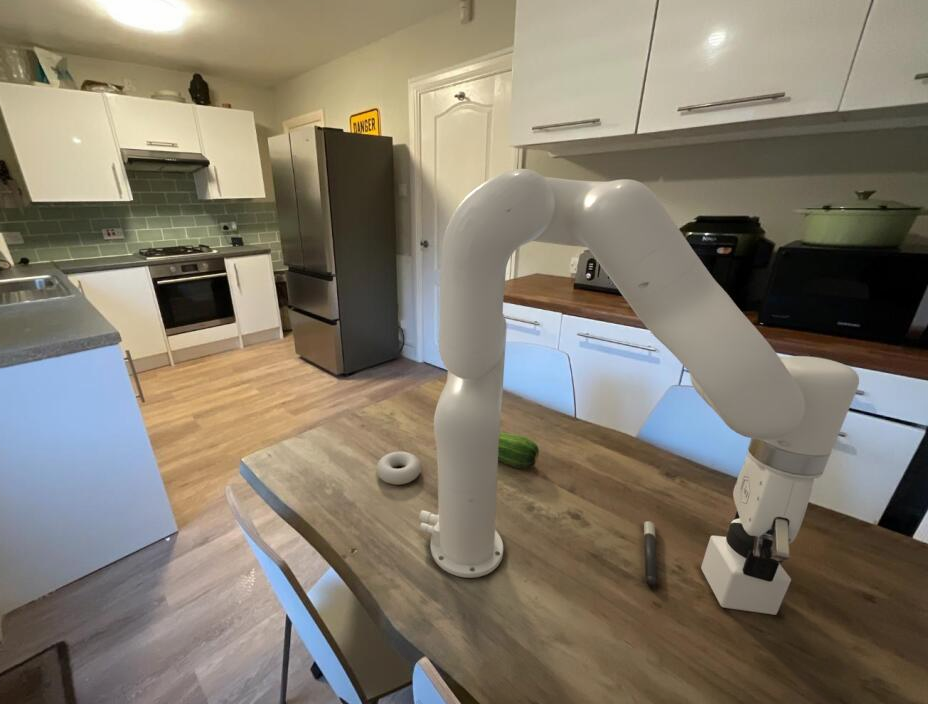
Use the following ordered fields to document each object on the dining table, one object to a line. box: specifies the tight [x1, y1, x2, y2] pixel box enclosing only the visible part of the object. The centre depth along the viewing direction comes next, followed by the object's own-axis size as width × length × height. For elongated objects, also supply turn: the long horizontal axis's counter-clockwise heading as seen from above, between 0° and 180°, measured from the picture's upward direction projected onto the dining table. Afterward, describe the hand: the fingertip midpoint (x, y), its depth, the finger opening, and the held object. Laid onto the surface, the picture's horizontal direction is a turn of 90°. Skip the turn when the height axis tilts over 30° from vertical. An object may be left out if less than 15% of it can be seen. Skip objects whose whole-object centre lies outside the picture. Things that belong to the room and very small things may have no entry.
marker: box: [643, 520, 659, 587], centre depth 68 cm, size 14×2×2 cm
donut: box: [376, 450, 422, 486], centre depth 91 cm, size 10×4×10 cm
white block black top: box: [700, 518, 792, 616], centre depth 59 cm, size 7×7×12 cm
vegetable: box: [498, 431, 540, 470], centre depth 95 cm, size 7×7×20 cm
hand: (749, 554), depth 59 cm, fingers closed on white block black top, 7 cm apart
